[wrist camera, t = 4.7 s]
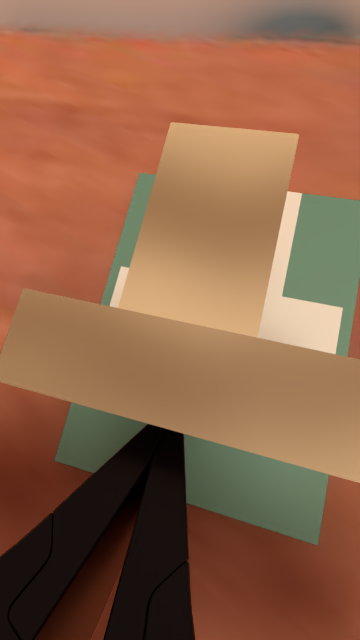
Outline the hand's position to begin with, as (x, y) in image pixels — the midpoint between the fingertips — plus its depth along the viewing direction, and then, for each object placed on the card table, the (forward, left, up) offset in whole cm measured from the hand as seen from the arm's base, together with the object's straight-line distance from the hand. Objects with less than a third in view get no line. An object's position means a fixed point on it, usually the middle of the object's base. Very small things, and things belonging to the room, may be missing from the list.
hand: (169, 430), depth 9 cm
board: (+3, +3, -7) cm, 8 cm away
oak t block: (+3, +3, -6) cm, 8 cm away
